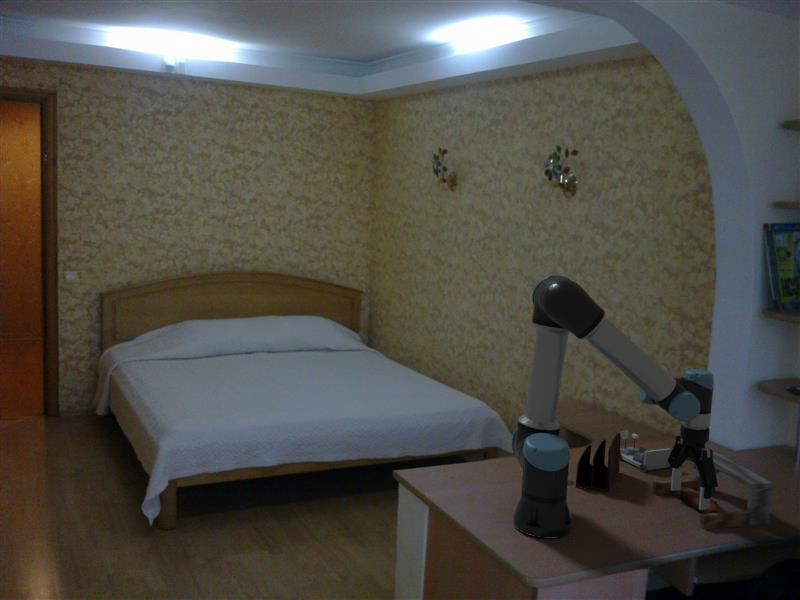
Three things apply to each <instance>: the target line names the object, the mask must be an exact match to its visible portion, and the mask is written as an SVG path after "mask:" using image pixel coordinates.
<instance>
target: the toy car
mask: <svg viewBox="0 0 800 600" xmlns="http://www.w3.org/2000/svg"><path fill="white" fill-rule="evenodd" d="M618 433H620V434H621V438H620V439H621V440H624V447H620V461H621V460H623V461H626V462H627V463H629V464H631V465H633V466H635V467H638V469H639V471H640V472H641V473H643V474H646V473H647V472H648V471H653V470H657V469H663V468H664V469H665V468H667V467H668V468H667V469H669V468H670V469H669V470H672V467H671V464H670V463H668V458H669V455H670V453H671V451H672V448H669V447H666V448H659V449H653V450H647V448H644V447H642V446H641V447H639V448H637V447H636V439H639V435H638V434H636V433H631V434H630V436H631V437H632V438H633V446H628V447H627V442H628V441H627V440H628V438H629V430H628V429H623V428H620V431H619V432H618Z"/></svg>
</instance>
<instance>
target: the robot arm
mask: <svg viewBox="0 0 800 600" xmlns="http://www.w3.org/2000/svg"><path fill="white" fill-rule="evenodd" d="M531 294H532V297H531V299H532V300H531V301H532V304H533V311H532V320H531V324H532V326H534V327H535V329H536V332H535V339H534V344H533V346H534V347H533V353H532V359H531V366H530V367H531V368H530V373H529V374H530V375H529V380H528V389H527V393H526V394H527V395H526V401H525V402H526V403H525V408H524V413H523V414H522V415H521V416H519V417H518V419H517V424H516V429H515V430H514V432H513V434H512V438H511V450H512V453H513V455H514V457H515V459H516V460H517V462H518V464H519V466H520V468H521V470H522V474H521V475H522V476H521V478H522V480H521V495H520V498H519V501H518V503H517V506H516V508H515V511H514V513H513V520H512V523H513V522H514V525H515V526H516V527H517V528H518V529H519V530H521V531H523V532H525V533H528V534H531V535H534V536H540V537H559V538H562V537H561V536H563V537H566V536H568V535H570V534H571V532H572V526H573V520H572V516H571V512H570V507H569V504H568V501H567V497H568V482H569V465H570V458H571V453H570V447H569V446H570V445H569V444H568V442H567V441H566V440H565V439H564V438H562V437H561V436H560V431H561V424H560V423H559V422H558V420H557V413H558V406H559V400H560V399H559V398H560V393H561V386H562V380H563V375H564V374H563V373H564V365H565V360H566V359H565V358H566V353H567V345H568V339H569V334H571V333H572V335H574V336H575V337H576V338H577V339H578V340H585V341H586V342H587V343H589V345H591V346H592V347H593V348H594V349H595V350H597V351H598V352H599V353H600V354H601V355H602V356H603V357H604V358H606V359H607V360H608V361H609V362H610V363H611V364H613V366H615V367H616V368H617V369H618V370H619V371H621V372H622V373H623V375H625V376H626V377H628V378H629V379H630V380H631V381H632V382H633V383H634V384H635V385H636V386H637V387H638V396H639V399H640V401H641V403H642V404H644V405H651V406H658V407H660V408H661V409H663V410H664V411H666V413H668V414H669V416H671V417H672V418H673V419H674V420H677V421H679V422H680V423H681V425H680V431H679V432H680V433H679V435H675V436H676V437H675V441H674V443H673V447H672V448H671V453H670V455H669V458H668V463H670V464H671V467H672V469H671V480H670V481H671V490H672V491H677V490H681V480H683V479H682V476H683V464H684V463H685V462H686V461H687V460H686V459H687V458H688V457H689V458H691V459H690V460H692V461H693V464H694V463H695V464H696V466H697V469H698V472H699V475H700V478H701V481H702V484H703V485H701V488H700V500H699V509H700V510H703V509H709V506H710V498H712V491H711V490H712V487H716V488H718V486H719V484H718V478H717V476H716V473H715V468H714V463H713V452H714V451H713V449H708V448H706V444H707V442H709V440H710V430H711V429H710V428H709V427H710V426H711V418H712V417H711V415H712V403H713V396H714V391H715V390H714V387H715V386H714V385H715V383H714V380H715V379H714V378H715V377H714V374H713V373H712V372H710V371H708V370H703V369H696V368H691V369H687V370H686V371H685V372H684V375H683V376H681V377H673V376H672V375H670V374H669V372H667V371H666V370H665V369H664V368H663V367H662V366H660V365H659V363H657V362H656V360H654V359H653V358H651V357H650V356H649V355H648V353H646V352H645V351H644V350H643V349H642V348H640V346H638V345H637V344H636V343H635V342H633V340H632V339H630V338H629V336H627V335H626V334H625V333H624V332H623V331H622V330H620V329H619V328H618V327H617V326H616V325H615V324H614V323H613V322H612V321H610V319H608V318H607V316H606V311H605V310H604V309H603V308H602V307H601V306H600V305H599V304H597V302H596V301H595V300H594V299H593V298H592V297H591V296H590V295H589V293H588V292H587V290H585V289H584V288H583V287H582V286H581V285H580V284H579V283H577V282H576V281H573V280H571V279H569V278H568V277H566V276H563V275H560V274H558V275H557V274H556V275H555V274H552V275H548V276H545V277H543V278H541V279H540V280H539V281H538V282H537V283H536V284H535V286H534V288H533V291H532V293H531ZM705 448H706V449H705ZM707 449H708V450H707ZM701 457H702V459H701ZM706 481H707V483H706ZM514 525H513V526H514ZM519 530H518V531H519ZM567 534H568V535H567ZM565 535H566V536H565ZM534 536H533V537H534Z"/></svg>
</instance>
